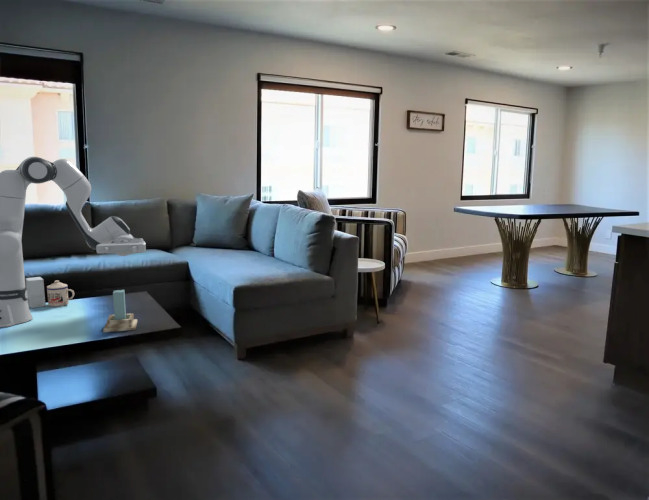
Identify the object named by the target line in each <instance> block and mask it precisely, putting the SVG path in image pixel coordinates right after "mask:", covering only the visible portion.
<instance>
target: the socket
mask: <svg viewBox="0 0 649 500" xmlns="http://www.w3.org/2000/svg"><path fill="white" fill-rule="evenodd" d="M137 324H138V319H137V318H135V314H134V313H133V312H132V313H126V319H122V320H115V318H114V314H109V315H108V317H107V320H106V323H105V325H104V327H103V329H102V330H103V331H102V332H103V333H111V332H124V331H125V332H126V331H135V330H137V326H138V325H137Z"/></svg>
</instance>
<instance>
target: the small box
mask: <svg viewBox="0 0 649 500" xmlns="http://www.w3.org/2000/svg"><path fill="white" fill-rule="evenodd" d="M44 282H45V281H44V278H42V277H41V276H35V277H25V286H26V287H27V292H28V299H27V301H28V306H29V308H31V309H33V308H35V309H36V308H41V307H46V297H45V296H46V293H45V283H44Z"/></svg>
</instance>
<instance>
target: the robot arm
mask: <svg viewBox="0 0 649 500" xmlns="http://www.w3.org/2000/svg"><path fill="white" fill-rule="evenodd" d="M50 181H53V182H54V183H55V184H56V185H57V186H58V187H59V188H60V190H61V191H62V192H63V193H64V195H65V197H66V198H65V199H66V201H65V206H66V207H65V208H66V209H67V211H68V213H69V214H70V216H71V218H72V220H73V221H74V223H75V225H76V227H77V228H78V229H79V231H80V232H81V234H82V236H83V238H84V240H85V243H86V244H87V246H88V247H89V248H90V249H92V250H94V251H96V254H116V255H118V256H120V257H126V256H129V255H134V254H141V253H142V254H143V253H146V252H147V247H146V246H147V245H146V244H147V243H146V241H145V240H144V238H139V237H134V236H133V235H132V234H131V229H130V227H129V225H128V224H127V223H126V221H125V220H124V219H122V218H121V217H119V216H115V215H114V216H113V215H111V216H109V217H108V218H106V219H105V220H103V221H102V222H101V223H99V224H98V225H97V226H95V227H91V226H90V225H89V223H88V222H87V220H86V218H85V217H84V215H83V213H82V209H83V206H84V205H85V203H86V202H87V201H88V199H89V197H90V196H91V193H92V185H91V183H90V182H89V179H88V178H87V177H86V176H85V175H84V174H83V172H82V171H81V170H79V168H77V166H76V165H74V163H72V162H71V161H70V160H69V159H66V158H58V159H56V160H55V161H49V160H47V159H45V158H42V157H39V156H30V157H27V158H24V160H23V161H22V162H20V164H19V165H18V166H17V168H16V169H5V170H2V171H1V172H0V328H8V327H11V326H14V325H18V324H24V323H27V322H29V321H31V320H33V315H32V313H31V310H30V306H29V305H28V301H27V299H28V292H27V287H26V276H25V267H24V266H25V265H24V257H23V256H24V255H23V254H24V253H23V243H22V240H23V239H22V238H23V237H22V236H23V229H24V228H23V227H24V221H25V220H24V219H25V208H26V195H27V189H28V187H29V186H30V185H31V184H39V185H40V184H44V183H47V182H50Z"/></svg>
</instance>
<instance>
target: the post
mask: <svg viewBox="0 0 649 500" xmlns="http://www.w3.org/2000/svg"><path fill="white" fill-rule="evenodd" d="M125 293H126V292H125V289H117V290H113V292H112V299H113V301H112V302H113V315H114V318H115V320H122V319H126V314H127V312H126V311H127V310H126V294H125Z"/></svg>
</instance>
